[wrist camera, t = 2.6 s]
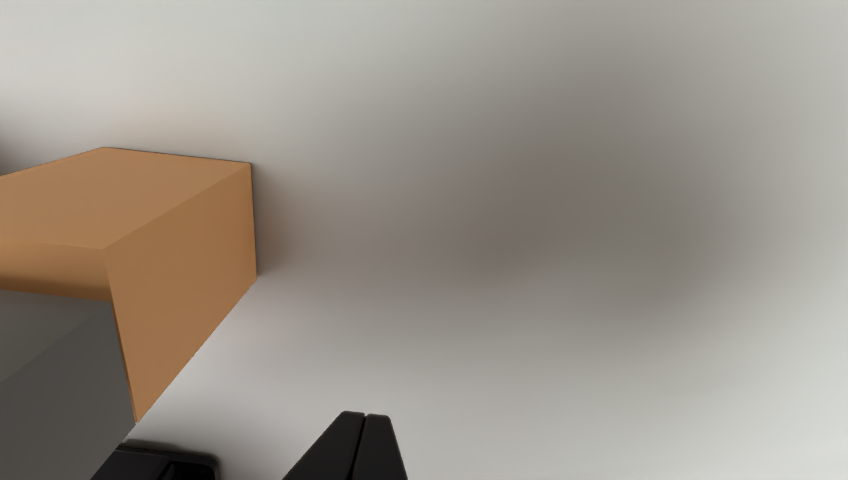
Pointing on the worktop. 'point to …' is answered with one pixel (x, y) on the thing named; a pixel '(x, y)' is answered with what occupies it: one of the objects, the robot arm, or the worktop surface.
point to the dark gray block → (59, 387)
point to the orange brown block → (135, 249)
